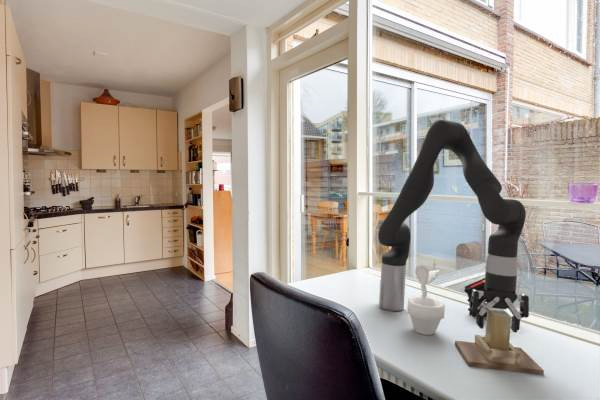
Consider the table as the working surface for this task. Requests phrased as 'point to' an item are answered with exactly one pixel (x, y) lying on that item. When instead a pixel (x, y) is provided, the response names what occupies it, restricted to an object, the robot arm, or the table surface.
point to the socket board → (497, 357)
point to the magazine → (479, 287)
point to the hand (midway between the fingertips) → (497, 329)
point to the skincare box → (498, 329)
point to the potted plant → (425, 304)
